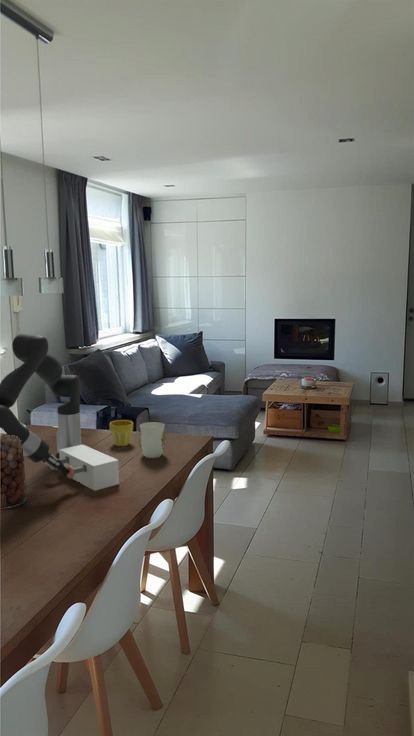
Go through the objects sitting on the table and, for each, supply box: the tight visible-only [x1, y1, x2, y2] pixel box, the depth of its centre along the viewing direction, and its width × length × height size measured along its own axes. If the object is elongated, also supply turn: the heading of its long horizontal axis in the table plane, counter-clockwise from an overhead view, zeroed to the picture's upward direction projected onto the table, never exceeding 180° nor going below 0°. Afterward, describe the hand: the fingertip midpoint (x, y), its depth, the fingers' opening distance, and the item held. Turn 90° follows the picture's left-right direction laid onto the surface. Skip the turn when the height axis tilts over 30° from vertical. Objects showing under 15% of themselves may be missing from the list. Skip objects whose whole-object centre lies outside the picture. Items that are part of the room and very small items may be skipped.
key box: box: [58, 444, 120, 492], centre depth 214 cm, size 10×26×9 cm, turn 41°
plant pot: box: [109, 419, 134, 447], centre depth 257 cm, size 10×10×10 cm
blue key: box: [49, 457, 69, 470], centre depth 214 cm, size 8×4×4 cm, turn 131°
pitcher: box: [138, 421, 167, 459], centre depth 241 cm, size 11×18×14 cm, turn 178°
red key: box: [66, 465, 86, 479], centre depth 204 cm, size 8×4×4 cm, turn 131°
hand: (67, 472), depth 201 cm, fingers closed
